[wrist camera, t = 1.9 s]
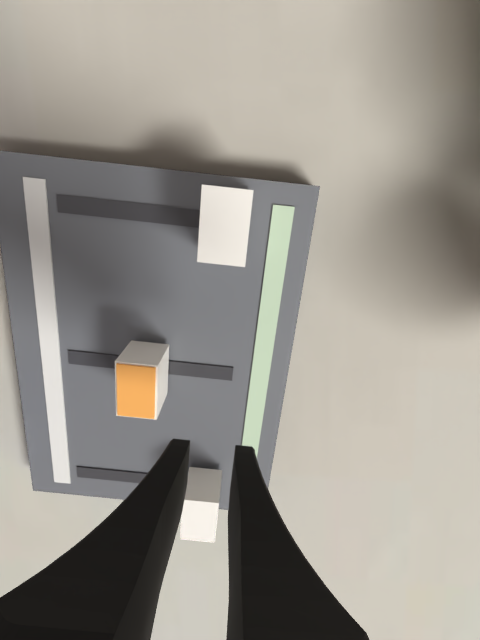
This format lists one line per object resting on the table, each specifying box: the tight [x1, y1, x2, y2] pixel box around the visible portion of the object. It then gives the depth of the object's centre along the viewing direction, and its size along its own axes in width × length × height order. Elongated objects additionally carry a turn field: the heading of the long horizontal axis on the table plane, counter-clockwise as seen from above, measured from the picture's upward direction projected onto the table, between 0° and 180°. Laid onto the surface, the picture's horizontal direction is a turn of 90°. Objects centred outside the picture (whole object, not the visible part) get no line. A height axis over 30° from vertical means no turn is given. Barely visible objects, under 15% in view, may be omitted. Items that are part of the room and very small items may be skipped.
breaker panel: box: [0, 151, 320, 510], centre depth 20 cm, size 15×20×2 cm
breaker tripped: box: [115, 340, 169, 420], centre depth 18 cm, size 2×3×2 cm, turn 174°
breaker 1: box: [180, 467, 222, 543], centre depth 20 cm, size 2×3×2 cm, turn 174°
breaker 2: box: [197, 185, 254, 267], centre depth 15 cm, size 2×3×2 cm, turn 174°
